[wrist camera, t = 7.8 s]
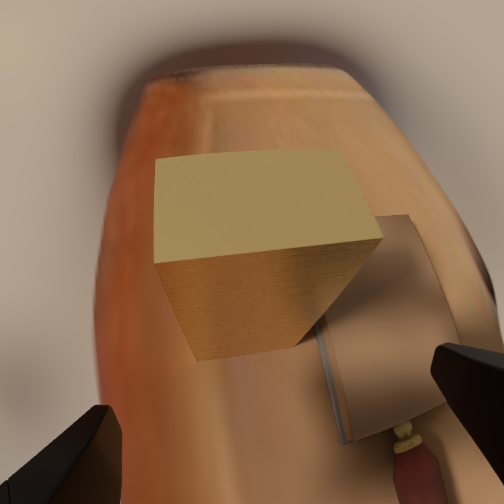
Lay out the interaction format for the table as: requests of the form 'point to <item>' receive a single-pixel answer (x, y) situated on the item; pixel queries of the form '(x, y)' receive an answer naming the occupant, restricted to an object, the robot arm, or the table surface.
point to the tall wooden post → (257, 244)
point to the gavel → (416, 470)
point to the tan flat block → (385, 336)
